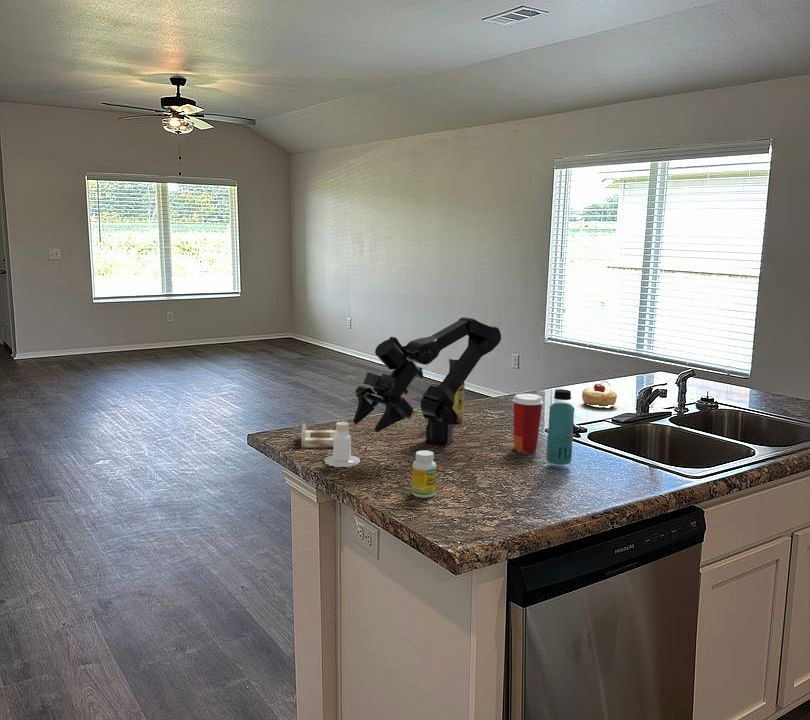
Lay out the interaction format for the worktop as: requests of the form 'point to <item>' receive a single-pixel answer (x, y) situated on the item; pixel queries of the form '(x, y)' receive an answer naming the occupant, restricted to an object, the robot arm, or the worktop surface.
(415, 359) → the robot arm
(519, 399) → the coffee cup
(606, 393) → the pastry
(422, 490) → the supplement bottle
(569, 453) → the beverage bottle
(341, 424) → the pepper shaker
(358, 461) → the coaster
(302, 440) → the square wooden frame
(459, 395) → the sauce bottle
